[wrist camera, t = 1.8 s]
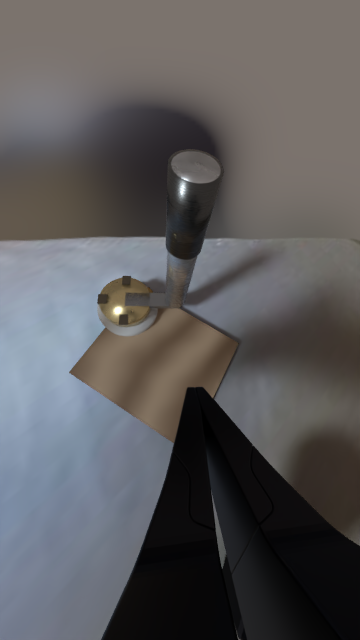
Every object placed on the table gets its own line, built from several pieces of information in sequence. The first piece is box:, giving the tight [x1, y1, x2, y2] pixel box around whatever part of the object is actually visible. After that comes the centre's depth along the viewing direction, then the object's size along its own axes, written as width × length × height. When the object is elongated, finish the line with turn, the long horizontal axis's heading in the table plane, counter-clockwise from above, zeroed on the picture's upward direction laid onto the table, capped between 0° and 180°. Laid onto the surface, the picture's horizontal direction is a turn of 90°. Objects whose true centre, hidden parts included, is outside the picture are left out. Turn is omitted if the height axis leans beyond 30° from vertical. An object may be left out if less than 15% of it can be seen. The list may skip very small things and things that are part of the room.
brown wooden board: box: [69, 285, 239, 443], centre depth 22 cm, size 19×14×2 cm
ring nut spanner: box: [97, 149, 224, 327], centre depth 15 cm, size 10×6×16 cm, turn 92°
